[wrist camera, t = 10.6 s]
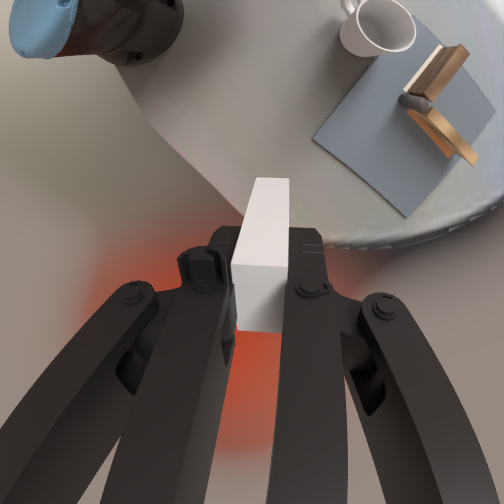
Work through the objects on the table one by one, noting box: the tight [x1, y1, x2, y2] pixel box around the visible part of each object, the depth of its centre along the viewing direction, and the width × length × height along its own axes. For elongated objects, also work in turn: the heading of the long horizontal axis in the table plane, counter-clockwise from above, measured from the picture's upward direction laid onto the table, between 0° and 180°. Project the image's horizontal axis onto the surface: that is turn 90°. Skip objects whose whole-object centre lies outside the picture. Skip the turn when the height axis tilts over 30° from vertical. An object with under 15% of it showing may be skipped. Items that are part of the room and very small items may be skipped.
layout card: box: [312, 15, 496, 218], centre depth 33 cm, size 21×27×1 cm
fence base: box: [398, 44, 470, 112], centre depth 26 cm, size 2×13×6 cm, turn 147°
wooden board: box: [410, 106, 479, 166], centre depth 30 cm, size 11×2×6 cm, turn 62°
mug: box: [339, 0, 416, 57], centre depth 22 cm, size 10×7×12 cm, turn 33°
